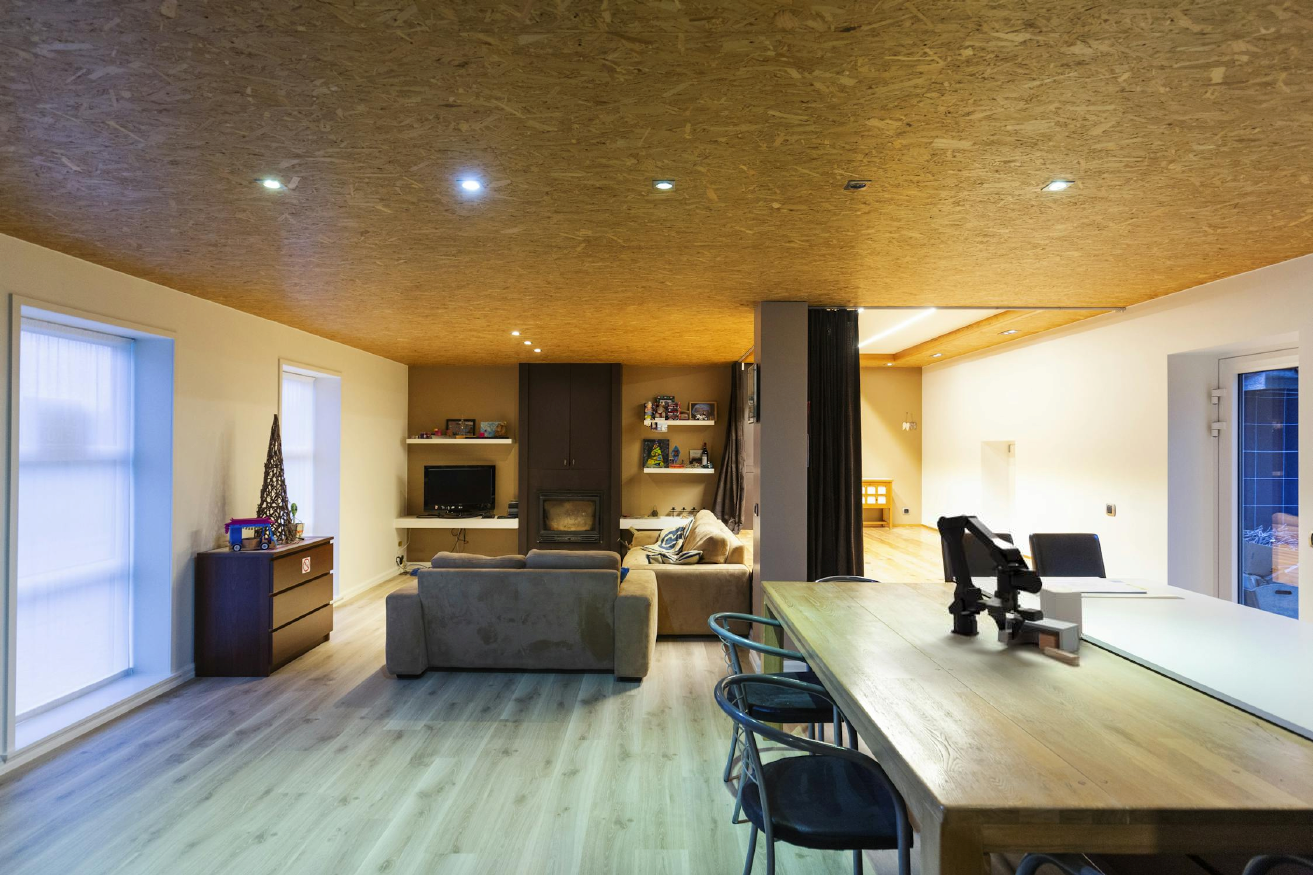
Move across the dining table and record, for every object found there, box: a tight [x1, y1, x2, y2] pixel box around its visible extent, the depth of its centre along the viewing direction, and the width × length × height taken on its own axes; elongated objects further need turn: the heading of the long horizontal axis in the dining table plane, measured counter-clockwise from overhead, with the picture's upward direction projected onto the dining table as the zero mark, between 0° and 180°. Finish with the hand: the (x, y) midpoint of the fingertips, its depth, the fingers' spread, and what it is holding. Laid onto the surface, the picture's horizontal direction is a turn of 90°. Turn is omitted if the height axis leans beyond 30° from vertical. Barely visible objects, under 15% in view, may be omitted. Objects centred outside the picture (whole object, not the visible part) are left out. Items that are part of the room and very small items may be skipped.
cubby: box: [1005, 614, 1080, 653], centre depth 206 cm, size 18×10×8 cm, turn 33°
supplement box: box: [1039, 586, 1083, 639], centre depth 217 cm, size 9×9×15 cm
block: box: [1038, 632, 1060, 651], centre depth 202 cm, size 4×4×4 cm
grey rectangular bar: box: [997, 628, 1044, 645], centre depth 205 cm, size 18×7×4 cm, turn 123°
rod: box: [1044, 647, 1080, 666], centre depth 191 cm, size 2×10×2 cm, turn 11°
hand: (1008, 638), depth 202 cm, fingers closed on grey rectangular bar, 3 cm apart
